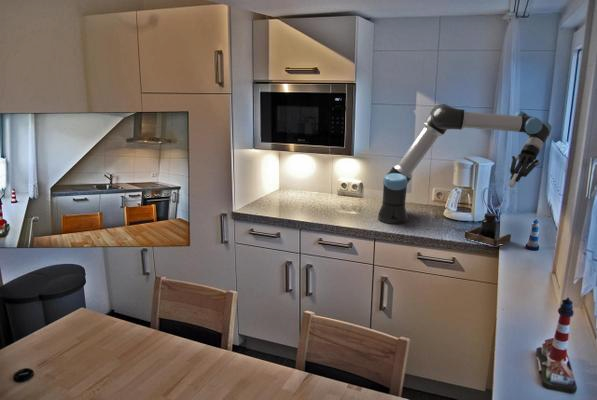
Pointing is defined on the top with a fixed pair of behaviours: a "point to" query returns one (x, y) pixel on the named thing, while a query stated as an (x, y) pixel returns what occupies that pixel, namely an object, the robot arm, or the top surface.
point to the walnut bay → (473, 236)
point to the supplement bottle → (489, 226)
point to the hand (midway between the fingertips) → (511, 185)
